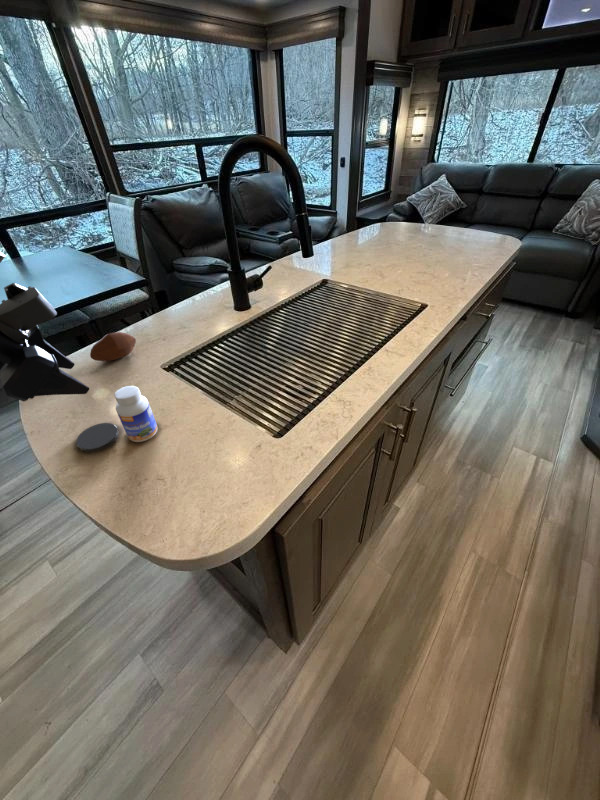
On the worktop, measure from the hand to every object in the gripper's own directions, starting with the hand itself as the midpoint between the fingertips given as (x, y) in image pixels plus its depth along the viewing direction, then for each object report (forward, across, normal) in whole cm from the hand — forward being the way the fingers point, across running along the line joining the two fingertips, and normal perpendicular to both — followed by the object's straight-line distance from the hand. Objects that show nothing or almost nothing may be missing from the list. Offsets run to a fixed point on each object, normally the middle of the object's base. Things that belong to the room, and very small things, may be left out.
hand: (79, 378), depth 53 cm
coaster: (+11, +3, +10) cm, 15 cm away
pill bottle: (+15, -1, +4) cm, 16 cm away
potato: (+18, +32, 0) cm, 37 cm away
